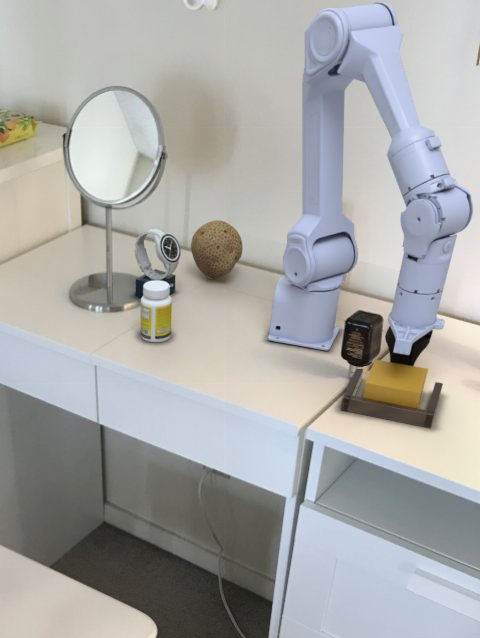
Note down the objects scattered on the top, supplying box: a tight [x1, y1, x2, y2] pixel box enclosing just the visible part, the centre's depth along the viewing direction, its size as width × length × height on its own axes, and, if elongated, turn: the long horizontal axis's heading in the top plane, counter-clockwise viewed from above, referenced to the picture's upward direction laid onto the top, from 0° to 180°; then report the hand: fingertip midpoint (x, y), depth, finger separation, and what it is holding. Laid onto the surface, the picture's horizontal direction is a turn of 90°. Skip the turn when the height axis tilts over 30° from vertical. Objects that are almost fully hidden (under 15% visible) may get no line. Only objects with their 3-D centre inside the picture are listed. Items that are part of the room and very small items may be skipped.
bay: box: [340, 368, 444, 429], centre depth 110 cm, size 12×9×2 cm
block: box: [361, 359, 429, 409], centre depth 110 cm, size 7×7×4 cm
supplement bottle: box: [140, 280, 173, 343], centre depth 125 cm, size 5×5×8 cm
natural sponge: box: [190, 219, 243, 280], centre depth 143 cm, size 9×9×10 cm
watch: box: [134, 227, 182, 299], centre depth 137 cm, size 6×8×11 cm
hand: (398, 378), depth 114 cm, fingers closed
